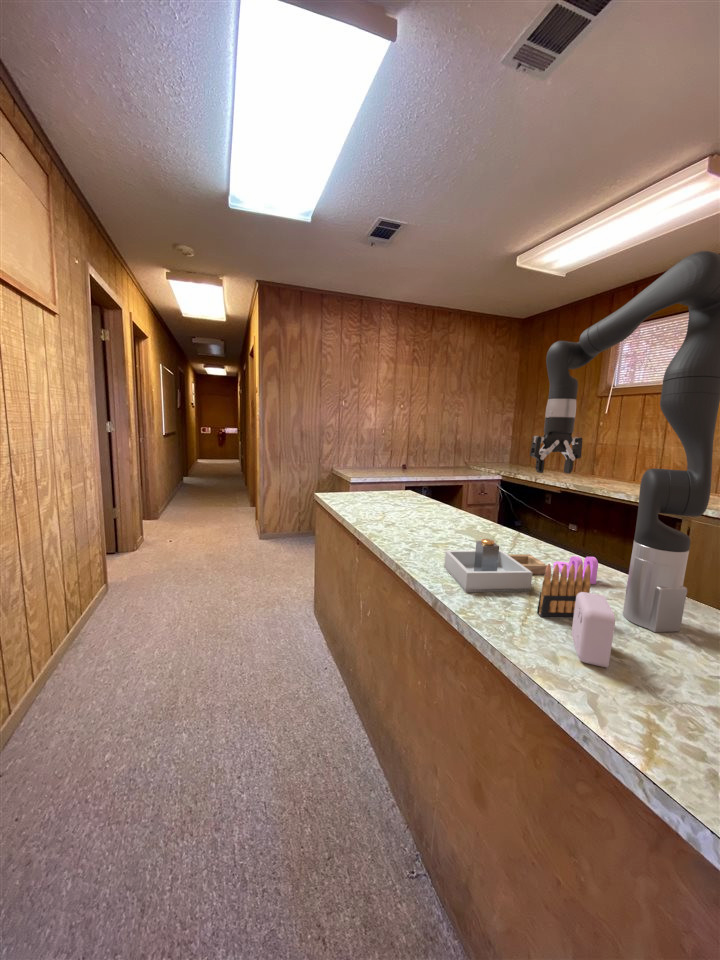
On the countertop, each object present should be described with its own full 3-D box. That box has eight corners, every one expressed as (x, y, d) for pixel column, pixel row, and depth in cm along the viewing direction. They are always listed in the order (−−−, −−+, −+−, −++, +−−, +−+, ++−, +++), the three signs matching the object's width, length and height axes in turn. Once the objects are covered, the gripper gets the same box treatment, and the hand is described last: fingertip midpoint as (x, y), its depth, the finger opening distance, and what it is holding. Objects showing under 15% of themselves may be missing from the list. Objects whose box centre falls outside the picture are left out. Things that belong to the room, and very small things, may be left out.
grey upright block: (488, 572, 104) (492, 538, 103) (496, 578, 100) (499, 543, 99) (473, 572, 104) (476, 538, 102) (480, 579, 100) (483, 543, 98)
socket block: (546, 574, 107) (547, 565, 106) (516, 574, 106) (517, 565, 105) (529, 562, 116) (530, 554, 115) (501, 562, 115) (501, 554, 114)
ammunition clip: (583, 614, 85) (590, 563, 83) (588, 618, 83) (595, 566, 81) (536, 613, 84) (542, 562, 82) (540, 617, 82) (547, 565, 81)
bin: (530, 591, 95) (532, 572, 94) (465, 592, 93) (467, 573, 93) (500, 566, 111) (501, 550, 110) (444, 567, 109) (445, 550, 108)
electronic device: (568, 635, 76) (574, 588, 74) (595, 640, 74) (602, 592, 73) (576, 664, 67) (584, 611, 65) (607, 671, 65) (615, 617, 63)
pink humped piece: (595, 584, 101) (598, 559, 100) (575, 584, 101) (578, 559, 100) (567, 566, 114) (570, 543, 113) (549, 565, 114) (552, 543, 113)
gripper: (574, 417, 111) (567, 471, 114) (529, 415, 109) (523, 470, 112) (592, 416, 104) (585, 475, 106) (544, 414, 102) (538, 474, 104)
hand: (553, 472), depth 109 cm, fingers open, 8 cm apart
